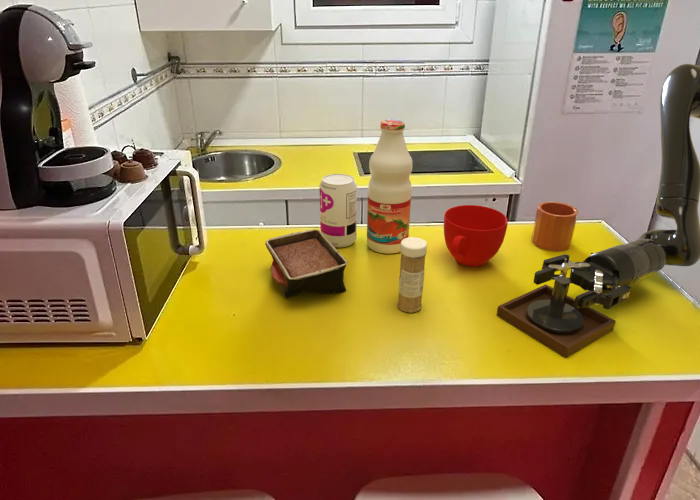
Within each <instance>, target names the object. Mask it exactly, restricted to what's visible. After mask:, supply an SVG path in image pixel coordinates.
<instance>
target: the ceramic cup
mask: <svg viewBox="0 0 700 500" xmlns="http://www.w3.org/2000/svg"><path fill="white" fill-rule="evenodd" d="M508 223H509V219H508V217H507V216H506V214H504V213H503V212H501V211H499V210H497V209H495V208H492V207H488V206H483V205H476V204H462V205H457V206H453V207H450V208H448V209H446V210H445V212H444V214H443V237H444V243H445V245H446V248H447V250H448V252H449V253H450V254H451V256H452V257H453V258H454V260H455V261H456V262H457V263H458V264H460V265H463V266H466V267H473V268H474V267H481V266H483V265H485V264H486V263H487V262H489V261H491V259H492V258H494V257H495V256H496V254H498V252H499V250H500V248H501V247H502V245H503V243H504V240H505V236H506V234H507V229H508Z"/></svg>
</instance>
